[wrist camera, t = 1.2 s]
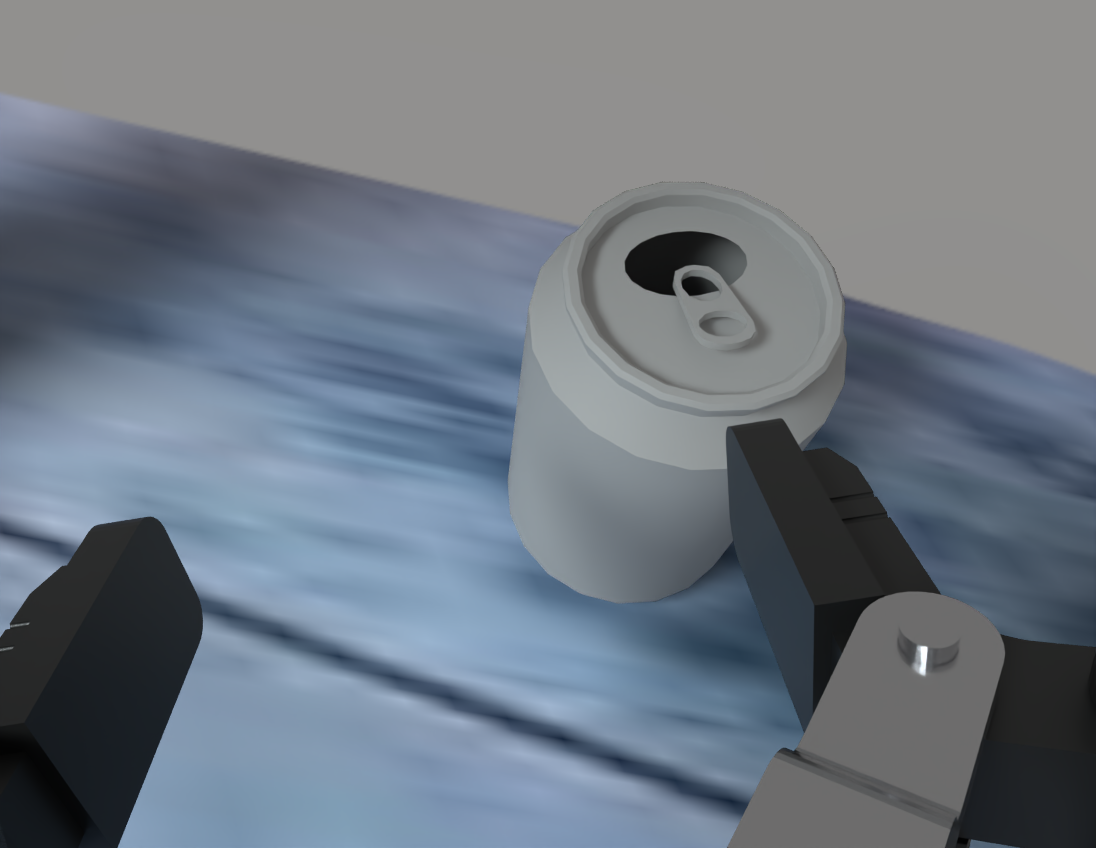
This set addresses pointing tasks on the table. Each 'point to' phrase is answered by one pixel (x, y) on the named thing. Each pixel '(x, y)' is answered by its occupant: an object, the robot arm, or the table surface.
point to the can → (663, 380)
